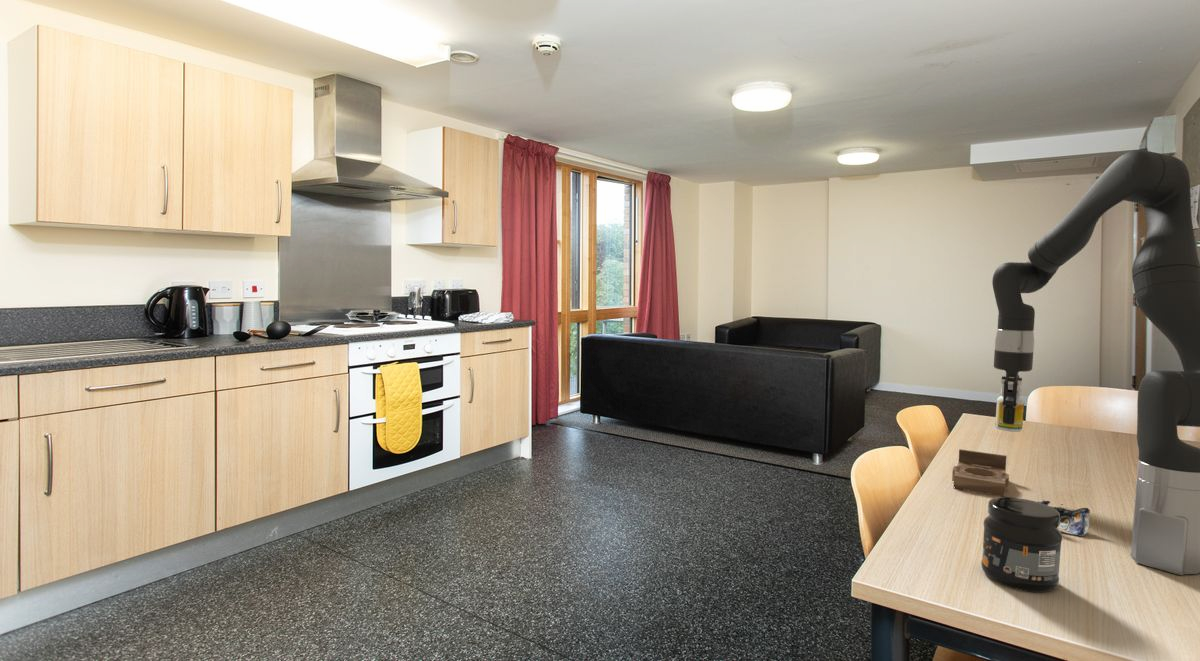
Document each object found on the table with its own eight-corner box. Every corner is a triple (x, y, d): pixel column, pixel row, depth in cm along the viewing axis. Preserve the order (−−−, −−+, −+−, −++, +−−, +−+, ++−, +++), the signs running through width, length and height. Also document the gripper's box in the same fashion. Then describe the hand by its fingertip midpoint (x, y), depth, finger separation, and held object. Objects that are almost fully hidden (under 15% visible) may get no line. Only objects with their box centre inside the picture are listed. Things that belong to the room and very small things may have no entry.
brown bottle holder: (1007, 497, 141) (1009, 471, 141) (950, 487, 148) (951, 462, 147) (1008, 480, 154) (1009, 456, 154) (955, 471, 160) (956, 448, 160)
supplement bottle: (990, 426, 150) (993, 386, 149) (1014, 427, 150) (1017, 387, 149) (1002, 431, 145) (1004, 390, 144) (1027, 432, 144) (1030, 391, 143)
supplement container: (989, 558, 109) (993, 491, 108) (1063, 579, 102) (1069, 506, 101) (973, 578, 102) (977, 506, 101) (1052, 602, 95) (1058, 524, 94)
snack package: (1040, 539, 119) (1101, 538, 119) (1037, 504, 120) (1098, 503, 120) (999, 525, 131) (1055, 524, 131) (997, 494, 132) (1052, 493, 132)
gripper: (1033, 353, 138) (1027, 429, 139) (1033, 347, 149) (1028, 418, 151) (992, 350, 142) (987, 424, 143) (996, 345, 154) (991, 413, 155)
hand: (1008, 420), depth 147 cm, fingers closed on supplement bottle, 5 cm apart
